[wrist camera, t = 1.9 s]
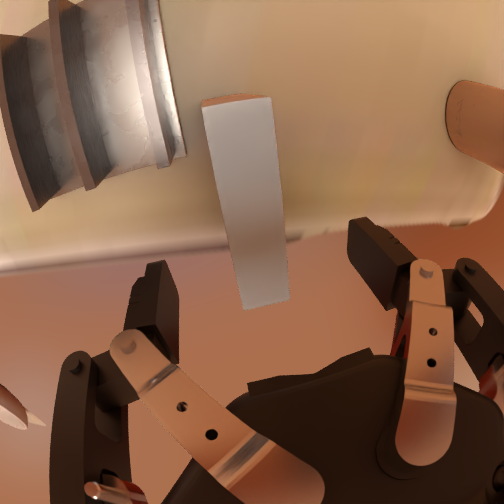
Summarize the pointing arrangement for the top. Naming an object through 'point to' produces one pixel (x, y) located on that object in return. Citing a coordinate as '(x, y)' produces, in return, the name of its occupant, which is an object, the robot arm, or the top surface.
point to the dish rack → (88, 96)
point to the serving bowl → (12, 410)
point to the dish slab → (249, 194)
